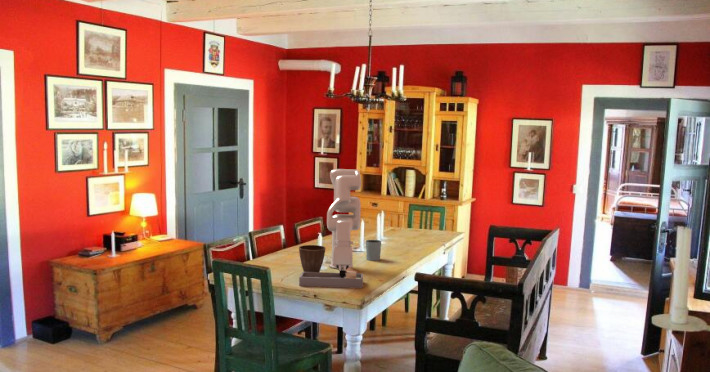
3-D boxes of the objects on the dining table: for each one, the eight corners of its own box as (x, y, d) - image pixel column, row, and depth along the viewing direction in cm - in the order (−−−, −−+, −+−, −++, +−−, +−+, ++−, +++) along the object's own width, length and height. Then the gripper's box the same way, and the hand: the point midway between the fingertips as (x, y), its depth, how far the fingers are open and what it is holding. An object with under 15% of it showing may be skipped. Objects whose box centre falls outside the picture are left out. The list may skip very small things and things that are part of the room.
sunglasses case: (351, 280, 307) (346, 269, 308) (341, 285, 310) (335, 274, 310) (361, 272, 325) (355, 262, 325) (351, 278, 327) (345, 267, 327)
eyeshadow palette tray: (302, 279, 306) (302, 271, 306) (362, 281, 305) (363, 273, 305) (299, 285, 295) (299, 277, 294) (362, 287, 293) (362, 279, 293)
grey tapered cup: (379, 261, 355) (380, 242, 354) (363, 260, 357) (364, 241, 356) (381, 258, 365) (382, 240, 364) (366, 257, 367) (367, 239, 366)
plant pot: (305, 271, 326) (306, 243, 324) (329, 274, 320) (329, 246, 319) (293, 276, 312) (294, 248, 311) (318, 280, 307) (318, 251, 305)
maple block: (346, 278, 301) (346, 271, 301) (356, 278, 301) (356, 271, 301) (345, 281, 296) (346, 273, 296) (355, 281, 296) (355, 273, 296)
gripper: (357, 242, 301) (356, 276, 303) (329, 241, 302) (328, 275, 303) (356, 245, 293) (356, 279, 295) (328, 244, 294) (327, 278, 296)
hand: (342, 277), depth 299 cm, fingers closed
